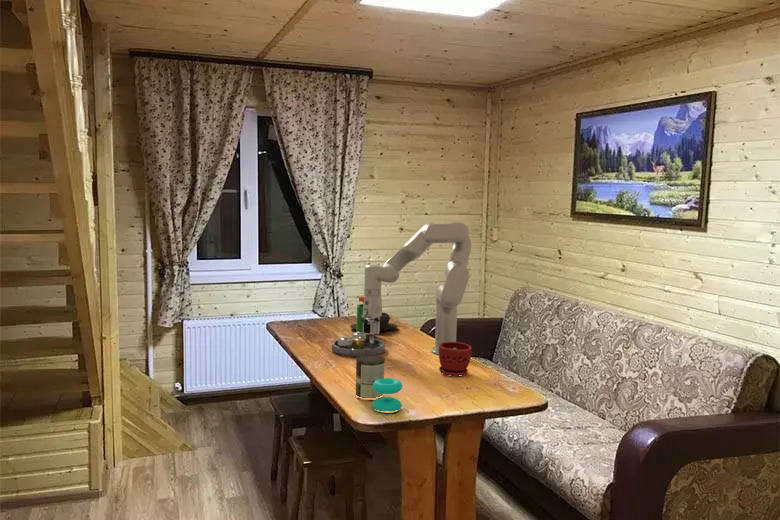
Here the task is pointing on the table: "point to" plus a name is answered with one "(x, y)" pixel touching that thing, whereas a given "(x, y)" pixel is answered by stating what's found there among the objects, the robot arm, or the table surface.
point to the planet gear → (374, 327)
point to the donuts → (387, 388)
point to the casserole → (382, 323)
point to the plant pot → (454, 358)
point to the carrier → (358, 345)
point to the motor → (359, 318)
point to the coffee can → (368, 375)
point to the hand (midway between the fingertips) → (371, 330)
